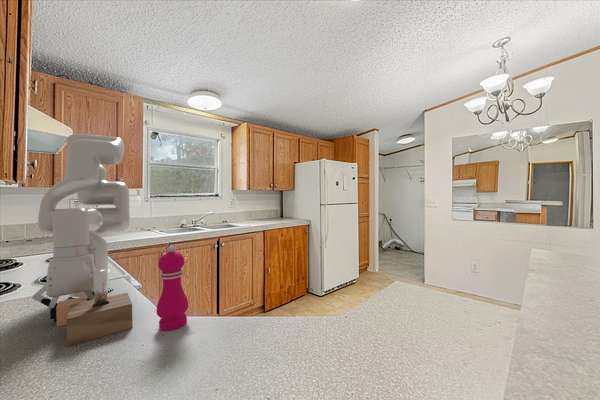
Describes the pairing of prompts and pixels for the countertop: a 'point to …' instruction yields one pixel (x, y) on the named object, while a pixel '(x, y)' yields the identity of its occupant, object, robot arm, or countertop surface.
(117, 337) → the countertop surface
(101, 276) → the post
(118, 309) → the post block
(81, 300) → the cardboard-colored cube
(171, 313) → the pepper mill
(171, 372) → the countertop surface
